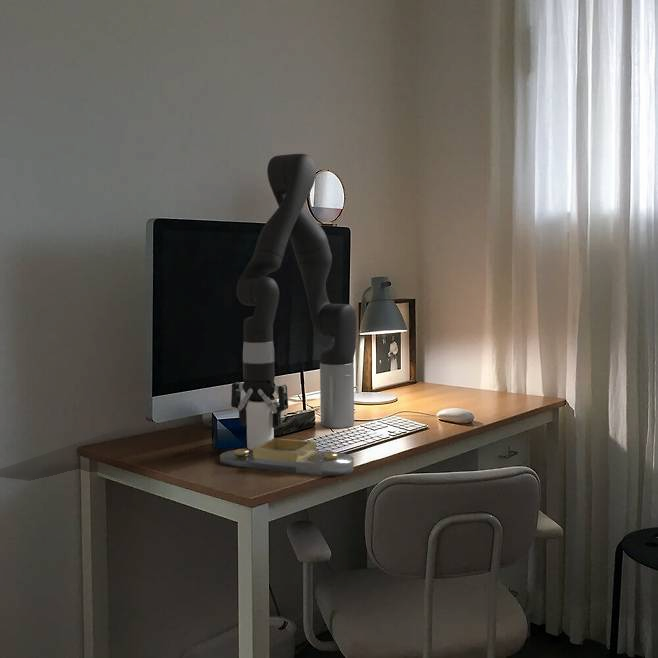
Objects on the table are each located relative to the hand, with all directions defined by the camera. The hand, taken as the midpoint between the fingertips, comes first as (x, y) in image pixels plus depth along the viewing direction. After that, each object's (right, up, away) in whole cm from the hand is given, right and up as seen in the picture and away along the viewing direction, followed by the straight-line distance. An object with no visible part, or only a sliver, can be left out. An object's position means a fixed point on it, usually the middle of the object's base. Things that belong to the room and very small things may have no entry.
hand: (259, 426), depth 187 cm
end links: (+7, -7, -14) cm, 17 cm away
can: (0, -6, +1) cm, 6 cm away
